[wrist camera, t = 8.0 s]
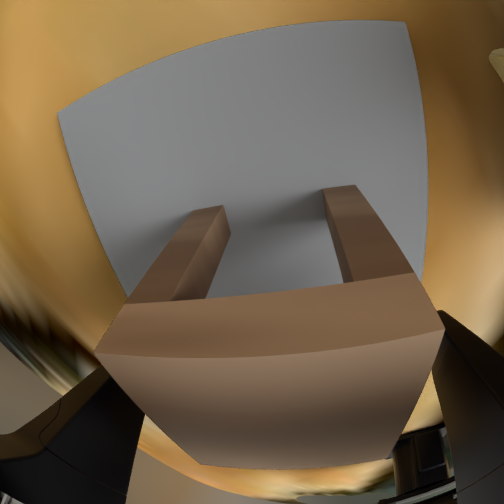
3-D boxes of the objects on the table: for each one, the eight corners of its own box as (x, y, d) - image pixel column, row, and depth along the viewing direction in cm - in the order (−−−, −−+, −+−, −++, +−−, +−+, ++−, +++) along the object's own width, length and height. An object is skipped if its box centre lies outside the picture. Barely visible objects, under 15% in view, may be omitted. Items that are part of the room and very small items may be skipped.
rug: (404, 352, 14) (406, 357, 13) (175, 370, 17) (173, 374, 16) (401, 24, 6) (405, 22, 6) (62, 111, 9) (57, 112, 9)
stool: (359, 313, 12) (387, 458, 6) (232, 327, 13) (199, 464, 7) (355, 184, 9) (445, 328, 3) (193, 210, 11) (92, 352, 5)
